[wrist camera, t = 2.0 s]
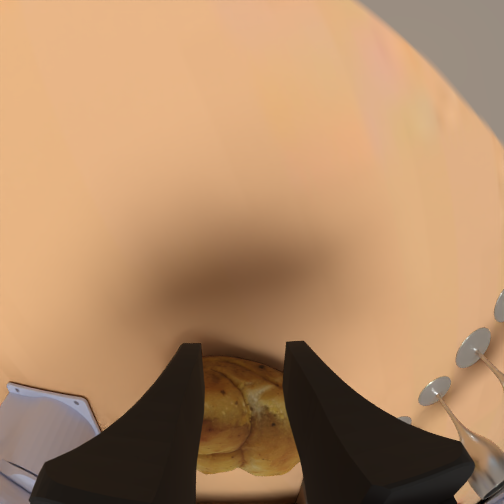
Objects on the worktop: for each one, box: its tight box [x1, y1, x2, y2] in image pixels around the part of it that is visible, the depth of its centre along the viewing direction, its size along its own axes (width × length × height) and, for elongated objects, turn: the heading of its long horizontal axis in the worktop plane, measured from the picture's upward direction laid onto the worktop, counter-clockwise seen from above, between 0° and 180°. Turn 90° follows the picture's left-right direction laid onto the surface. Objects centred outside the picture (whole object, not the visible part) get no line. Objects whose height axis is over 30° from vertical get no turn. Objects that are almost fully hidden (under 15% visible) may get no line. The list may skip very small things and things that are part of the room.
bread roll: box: [196, 356, 300, 476], centre depth 19 cm, size 13×10×8 cm
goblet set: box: [398, 289, 504, 500], centre depth 19 cm, size 28×6×13 cm, turn 145°
